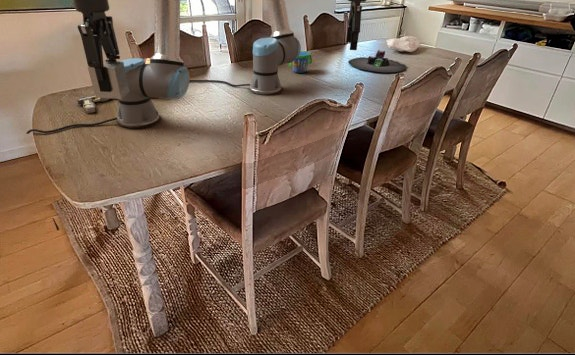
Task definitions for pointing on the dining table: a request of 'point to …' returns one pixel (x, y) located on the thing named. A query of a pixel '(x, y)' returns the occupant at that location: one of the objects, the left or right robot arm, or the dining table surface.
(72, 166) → the dining table surface
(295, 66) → the snack cup
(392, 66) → the dark round tray
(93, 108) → the handgun
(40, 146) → the dining table surface
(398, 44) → the crumpled cloth
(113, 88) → the brick
